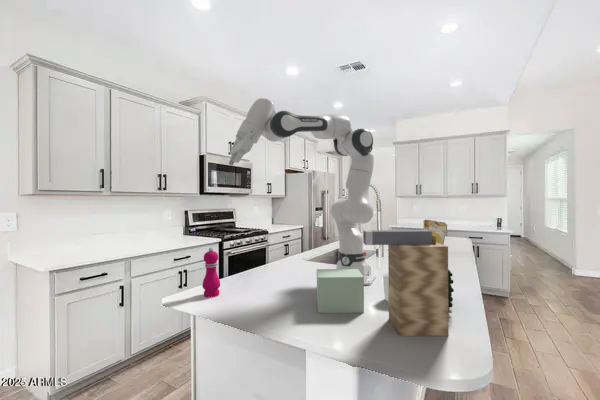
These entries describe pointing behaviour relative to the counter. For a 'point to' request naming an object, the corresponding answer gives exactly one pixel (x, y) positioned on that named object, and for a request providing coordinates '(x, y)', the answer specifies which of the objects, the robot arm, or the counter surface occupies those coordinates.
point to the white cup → (386, 286)
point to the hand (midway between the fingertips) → (233, 163)
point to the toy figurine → (450, 289)
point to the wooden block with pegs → (418, 289)
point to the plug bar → (397, 237)
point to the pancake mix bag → (436, 229)
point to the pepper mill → (211, 274)
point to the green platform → (340, 291)
